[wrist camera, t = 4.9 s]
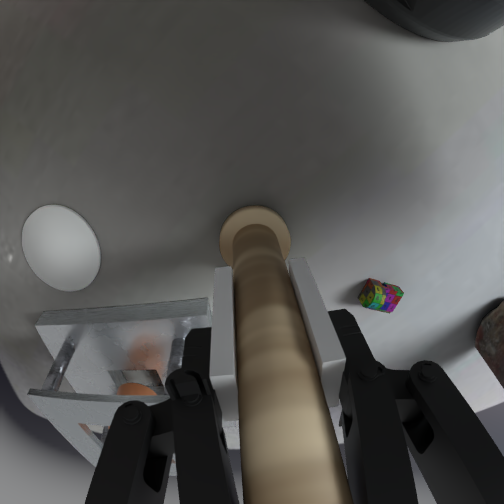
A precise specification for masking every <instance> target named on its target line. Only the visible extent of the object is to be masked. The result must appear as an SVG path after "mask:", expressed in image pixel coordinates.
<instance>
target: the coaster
mask: <svg viewBox="0 0 504 504" xmlns="http://www.w3.org/2000/svg"><path fill="white" fill-rule="evenodd" d="M22 247H23V252H24V255H25V258H26V260H27V262H28V264H29V266H30V267H31V269H32V270H33V272H34V273H35V274H36V275H37V276H38V277H39V278H40V279H41V280H42V281H43V282H45V283H46V284H48V285H49V286H51V287H53V288H55V289H58V290H62V291H68V292H70V291H78V290H81V289H83V288H85V287H87V286H88V285H89V284H90V283H91V282H92V281H93V280H94V278H95V277H96V275H97V273H98V271H99V268H100V263H101V252H100V246H99V242H98V240H97V237H96V235H95V233H94V231H93V229H92V228H91V226H90V225H89V224H88V223H87V221H86V220H85V219H84V218H83V217H82V216H81V215H79V214H78V213H77V212H75V211H74V210H72V209H70V208H68V207H65V206H62V205H57V204H50V205H45V206H42V207H40V208H38V209H37V210H35V211H34V212H33V213H32V214H31V215H30V216H29V217H28V218H27V220H26V222H25V224H24V227H23V231H22Z"/></svg>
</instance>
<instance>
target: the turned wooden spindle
mask: <svg viewBox="0 0 504 504" xmlns="http://www.w3.org/2000/svg"><path fill="white" fill-rule="evenodd" d="M290 246H291V238H290V234H289V231H288V228H287V226H286V224H285V222H284V220H283V219H282V217H281V216H280V215H279V214H278V213H277V212H275V211H274V210H272V209H270V208H267V207H264V206H257V205H254V206H246V207H243V208H240V209H238V210H236V211H235V212H233V213H232V214H231V215H230V216H229V217H228V218H227V219H226V220H225V222H224V223H223V225H222V228H221V231H220V241H219V247H220V253H221V255H222V258H223V259H224V261H225V262H226V264H227V265H228V266H231V268H232V269H233V281H234V302H235V329H236V354H237V377H238V414H239V434H240V453H241V470H242V486H243V502H244V504H354V503H353V499H352V495H351V491H350V487H349V483H348V479H347V475H346V471H345V467H344V463H343V460H342V457H341V452H340V448H339V445H338V441H337V437H336V434H335V430H334V426H333V423H332V419H331V415H330V412H329V408H328V405H327V401H326V397H325V394H324V390H323V387H322V383H321V380H320V377H319V373H318V370H317V366H316V363H315V359H314V356H313V353H312V349H311V346H310V342H309V339H308V336H307V332H306V329H305V326H304V322H303V319H302V316H301V312H300V309H299V306H298V303H297V299H296V296H295V293H294V290H293V286H292V283H291V280H290V277H289V273H288V270H287V267H286V264H285V259H286V258H287V256H288V254H289V251H290Z"/></svg>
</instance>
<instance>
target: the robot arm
mask: <svg viewBox="0 0 504 504" xmlns="http://www.w3.org/2000/svg"><path fill="white" fill-rule="evenodd" d="M365 1H366V2H367V3H368V4H369V5H371V6H372V7H373V8H374V9H376V10H377V11H378V12H380V13H381V14H382V15H384V16H385V17H387V18H388V19H390V20H391V21H393V22H394V23H396V24H398V25H399V26H401V27H403V28H405V29H407V30H409V31H411V32H413V33H416V34H418V35H420V36H423V37H426V38H430V39H433V40H438V41H447V42H453V41H464V40H473V39H478V38H482V37H484V36H487V35H489V34H490V33H492V32H494V31H495V30H496V29H498V28H500V27H501V26H503V25H504V0H365ZM289 276H290V280H291V283H292V286H293V290H294V293H295V296H296V299H297V303H298V306H299V309H300V312H301V316H302V319H303V322H304V326H305V329H306V332H307V336H308V339H309V342H310V346H311V349H312V353H313V356H314V359H315V363H316V366H317V370H318V373H319V377H320V380H321V383H322V387H323V390H324V394H325V397H326V401H327V405H328V408H330V407H335V406H338V403H339V399H340V402H341V405H342V412H341V417H340V421H339V426H342V428H343V437H344V446H345V454H346V465H347V475H348V483H349V487H350V491H351V495H352V499H353V503H354V504H418V499H417V493H416V488H415V482H414V478H413V472H412V467H411V462H410V458H409V454H408V449H407V446H408V448H409V450H410V452H411V454H412V456H413V458H414V459H415V461H416V463H417V465H418V467H419V469H420V471H421V473H422V475H423V477H424V479H425V481H426V483H427V485H428V487H429V489H430V491H431V492H432V495H433V496H434V499H435V501H436V503H437V504H504V457H503V455H502V453H501V452H500V450H499V449H498V447H497V446H496V444H495V443H494V441H493V439H492V438H491V436H490V435H489V433H488V432H487V431H486V429H485V427H484V426H483V425H482V423H481V422H480V420H479V419H478V417H477V416H476V414H475V413H474V411H473V410H472V409H471V407H470V406H469V404H468V403H467V402H466V400H465V399H464V397H463V396H462V395H461V393H460V392H459V390H458V389H457V388H456V386H455V385H454V384H453V382H452V381H451V380H450V378H449V377H448V376H447V374H446V373H445V372H444V370H443V369H442V368H441V367H440V366H439V365H438V364H436V363H434V362H432V361H425V360H424V361H420V362H417V363H416V364H414V365H413V366H412V368H411V369H410V370H391V369H387V368H385V366H384V365H382V364H381V363H380V362H378V361H376V360H375V359H374V357H373V355H372V353H371V351H370V348H369V346H368V344H367V342H366V340H365V338H364V336H363V334H362V333H361V330H360V328H359V326H358V324H357V322H356V320H355V318H354V316H353V315H352V314H351V313H350V312H348V311H347V310H346V309H341V310H334V311H328V312H327V309H326V307H325V305H324V302H323V300H322V297H321V295H320V293H319V290H318V288H317V285H316V283H315V281H314V278H313V276H312V274H311V271H310V269H309V267H308V264H307V262H306V260H305V258H295V259H289ZM164 386H165V388H166V390H167V392H168V394H169V396H170V398H169V399H168V400H166V401H163V402H161V403H157V404H154V405H150V406H148V405H146V404H145V403H144V402H141V401H138V400H133V401H128V402H125V403H123V404H122V405H121V406H119V407H118V409H117V410H116V412H115V414H114V417H113V419H112V422H111V425H110V428H109V430H108V433H107V436H106V439H105V442H104V445H103V448H102V451H101V454H100V457H99V460H98V463H97V466H96V469H95V472H94V475H93V478H92V481H91V484H90V488H89V491H88V494H87V497H86V501H85V504H163V503H164V498H165V493H166V488H167V483H168V478H169V473H170V468H171V463H172V458H173V454H175V461H176V472H177V481H178V491H179V500H180V504H239V500H238V495H237V492H236V487H235V482H234V477H233V473H232V468H231V463H230V458H229V454H228V448H227V443H226V438H225V433H224V430H223V427H222V417H223V420H224V421H236V420H239V414H238V377H237V354H236V329H235V302H234V281H233V274H232V268H231V266H228V267H219V268H215V280H214V295H213V312H212V327H205V328H194V329H191V330H190V332H189V333H188V334H187V336H186V337H185V343H184V350H183V358H182V365H181V368H180V369H176V370H175V371H173V372H172V373H170V374H169V376H168V377H167V378H166V381H165V385H164Z"/></svg>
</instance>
